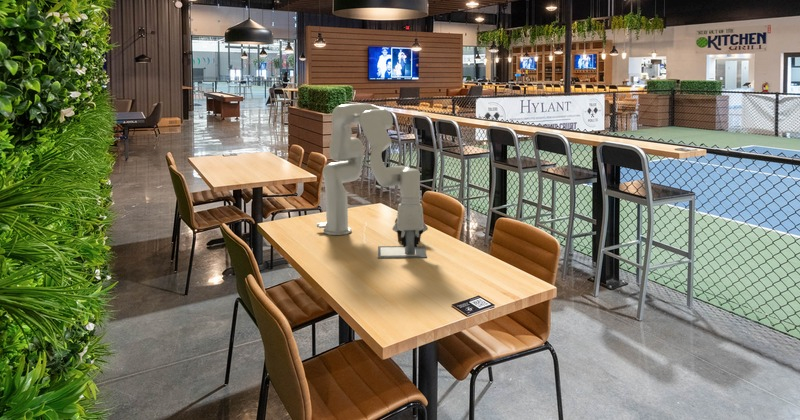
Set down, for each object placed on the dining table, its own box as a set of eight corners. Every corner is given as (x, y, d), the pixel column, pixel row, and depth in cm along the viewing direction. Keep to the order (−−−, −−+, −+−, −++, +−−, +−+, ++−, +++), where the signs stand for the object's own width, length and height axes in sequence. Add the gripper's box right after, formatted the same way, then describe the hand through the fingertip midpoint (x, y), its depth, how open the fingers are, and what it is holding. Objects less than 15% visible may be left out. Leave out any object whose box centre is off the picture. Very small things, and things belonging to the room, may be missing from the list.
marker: (404, 254, 227) (404, 222, 224) (404, 251, 231) (404, 220, 228) (415, 254, 227) (415, 222, 224) (415, 251, 232) (415, 220, 228)
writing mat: (377, 258, 225) (377, 257, 225) (378, 247, 239) (378, 246, 239) (426, 257, 225) (426, 256, 225) (424, 246, 240) (424, 245, 240)
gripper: (388, 203, 221) (388, 249, 225) (432, 202, 221) (432, 248, 225) (388, 198, 228) (388, 243, 232) (430, 198, 228) (430, 243, 233)
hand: (410, 245), depth 229 cm, fingers closed on marker, 3 cm apart
